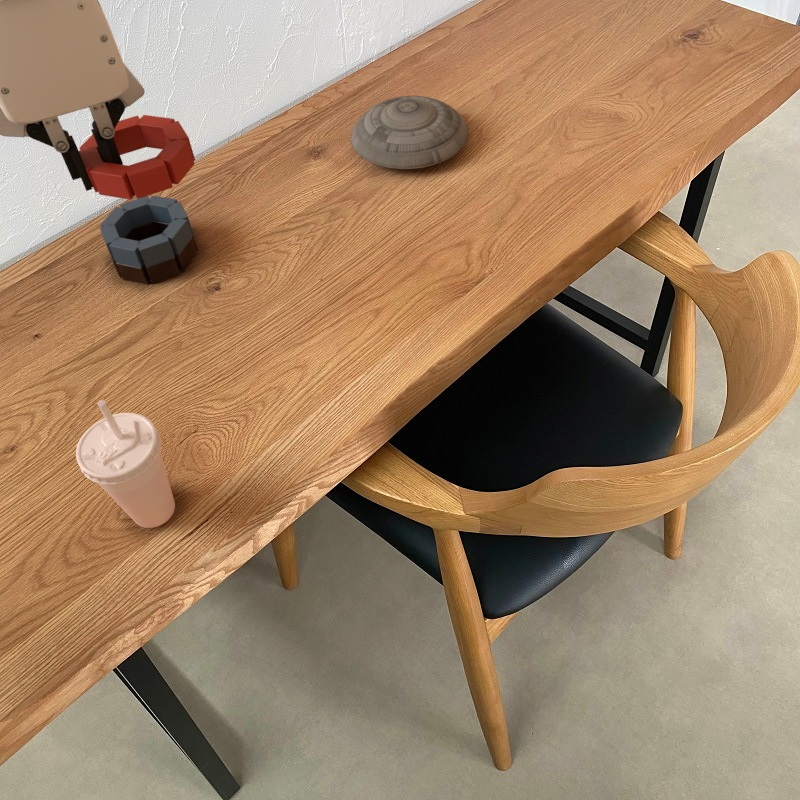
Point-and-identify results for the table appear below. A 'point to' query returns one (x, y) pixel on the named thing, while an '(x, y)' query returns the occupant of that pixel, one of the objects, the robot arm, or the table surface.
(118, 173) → the ring top
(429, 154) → the flying saucer
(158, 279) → the ring bottom
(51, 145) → the robot arm
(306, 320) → the table surface
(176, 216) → the ring middle
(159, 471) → the smoothie
